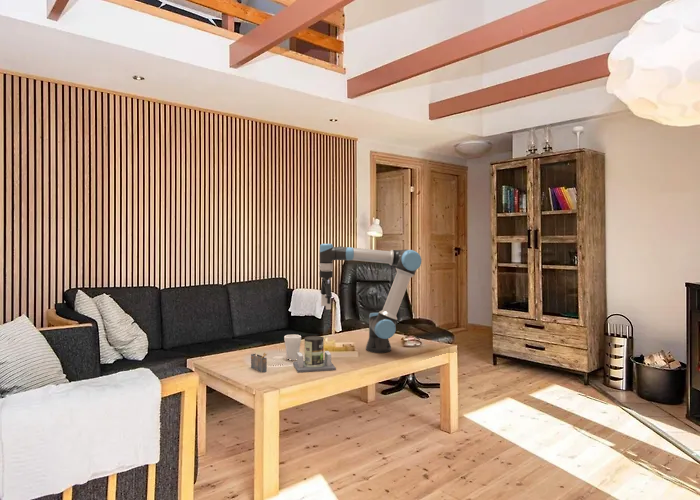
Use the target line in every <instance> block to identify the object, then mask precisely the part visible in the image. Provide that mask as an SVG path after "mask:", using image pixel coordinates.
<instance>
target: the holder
mask: <svg viewBox="0 0 700 500" xmlns="http://www.w3.org/2000/svg"><path fill="white" fill-rule="evenodd" d="M303 355H304V354H302V352H300V351H299V353H297V360H295V361H292V362H293V363H292V364H293V366H294V368H295V371H296V372H297V373H298V374H299V373H314V372H326V371H327V372H328V371H330V372H331V371H336V370H337V368H336V366H335V365H334V364H333V362H332V354H331V352H330V351H329V350H325V351H324V359H323V363H324V364H323V365H321V366H306V365H305V364H304V363H305V360H304V356H303Z"/></svg>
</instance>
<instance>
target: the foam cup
mask: <svg viewBox="0 0 700 500" xmlns="http://www.w3.org/2000/svg"><path fill="white" fill-rule="evenodd" d="M283 339H284V346H285V353H286V355H285V356H286V359H291V360H294V361H297V360H296V359H297V353H299V352H300V349H301V341H302V336H301V334H300V335H299V334H286V335H284V337H283ZM291 360H290V361H291Z"/></svg>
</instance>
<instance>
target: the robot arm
mask: <svg viewBox="0 0 700 500" xmlns="http://www.w3.org/2000/svg"><path fill="white" fill-rule="evenodd" d="M334 261H355V262H356V261H357V262H358V261H360V262H367V263H368V262H370V263H380V264H389V265H390V266H394V267H395V270H396V274H395V276H394V278H393V280H392V281H393V282H392V284H391V288H390V289H389V292H388V294H387V297H386V300H385V303H384V305H383V307H382V310H380V311H379V312H370V313H369V316H368V322H369V323H368V324H369V325H368V339H367V343H366V347H365V350H366V351H368V352H370V353H375V354H377V353H378V354H380V353H381V354H382V353H389V352H391V350H392V348H391V347H392V346H391V342H390V340H389V339H390V338H392V337H393V336H394V335H395V334H396V330H397V328H396V325H397V322H398V317H397V314H398V312H399V309H400V306H401V304H402V302H403V298H404V296H405V294H406V291H407V288H408V285H409V283H410V281H411V278H412V277H414V276H415V275H416V272H417V270H418V269H419V268H420V267H421V266H422V265H421V264H422V256H421V255H420V254H419V253H418V252H417V251H415V250H414V249H390V250H380V249H372V248H371V249H369V248H358V247H349V246H341V245H339V246H337V247H336V246H334V245H333V243H321V244H320V245H319V264H318V267H319V278H321V285H320V286H321V287H320V294H321V296H320V297H321V298H320V301H321V303H320V304H321V307H325V310H331V309H332V297H333V295H332V286H331V282H332V281H331V279H332V278H333V276H334V272H333V270H334V269H333V268H334V263H333V262H334Z"/></svg>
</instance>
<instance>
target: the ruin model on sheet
mask: <svg viewBox="0 0 700 500" xmlns="http://www.w3.org/2000/svg"><path fill="white" fill-rule="evenodd" d="M267 355H268V353H266V352H264V353H263V355H260V354H256V353H252V354H250V368H251V369H253V370H256V371H258V372H260V373H267V368H268V367H267V366H268V364H267V359H268V358H267V357H266V356H267Z"/></svg>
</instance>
